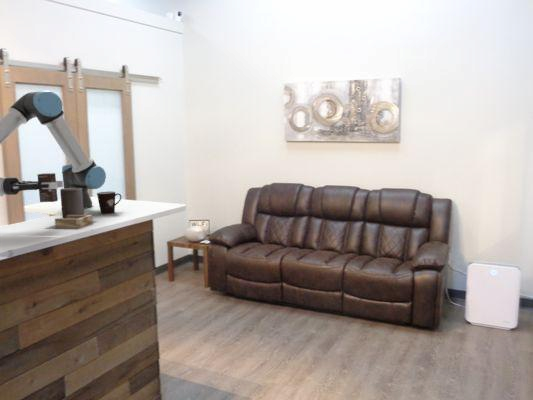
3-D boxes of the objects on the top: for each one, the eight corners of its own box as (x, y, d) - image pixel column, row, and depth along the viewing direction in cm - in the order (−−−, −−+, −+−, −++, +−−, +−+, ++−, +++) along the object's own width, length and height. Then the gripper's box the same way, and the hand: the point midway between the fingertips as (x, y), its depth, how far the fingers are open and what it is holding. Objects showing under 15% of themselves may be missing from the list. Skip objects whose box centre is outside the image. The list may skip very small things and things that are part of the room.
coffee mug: (99, 215, 240) (97, 194, 239) (98, 212, 248) (96, 192, 247) (124, 212, 245) (122, 192, 243) (122, 210, 252) (120, 190, 251)
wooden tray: (69, 222, 221) (68, 214, 221) (93, 222, 219) (92, 214, 218) (55, 227, 212) (54, 219, 211) (80, 227, 209) (79, 219, 209)
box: (39, 202, 213) (36, 174, 211) (45, 201, 217) (42, 173, 216) (52, 202, 212) (50, 173, 211) (58, 200, 217) (55, 173, 215)
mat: (67, 222, 225) (67, 221, 225) (97, 222, 222) (97, 221, 222) (44, 229, 209) (44, 228, 209) (76, 230, 206) (76, 229, 206)
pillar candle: (61, 220, 230) (58, 187, 228) (63, 216, 240) (61, 185, 237) (83, 218, 233) (81, 186, 231) (85, 215, 242) (82, 184, 240)
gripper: (19, 192, 224) (69, 190, 223) (-5, 197, 207) (50, 196, 205) (17, 175, 223) (68, 173, 221) (-7, 179, 206) (48, 178, 204)
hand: (59, 184), depth 213 cm, fingers closed on box, 4 cm apart
